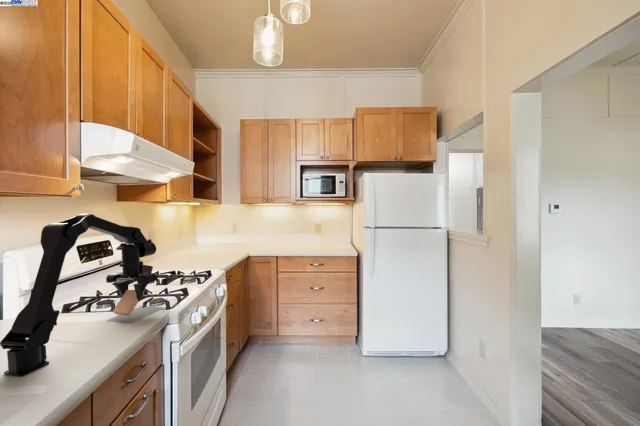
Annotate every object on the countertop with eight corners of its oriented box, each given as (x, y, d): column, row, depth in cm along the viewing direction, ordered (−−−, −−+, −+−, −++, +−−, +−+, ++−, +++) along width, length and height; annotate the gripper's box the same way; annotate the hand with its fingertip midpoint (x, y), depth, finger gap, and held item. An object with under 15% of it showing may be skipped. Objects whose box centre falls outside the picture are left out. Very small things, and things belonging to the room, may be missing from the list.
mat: (132, 324, 105) (132, 323, 105) (105, 322, 108) (105, 320, 108) (165, 308, 121) (165, 307, 121) (141, 306, 123) (141, 305, 123)
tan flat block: (125, 312, 106) (139, 290, 112) (112, 311, 107) (126, 289, 113) (130, 315, 108) (143, 293, 114) (116, 314, 109) (130, 292, 115)
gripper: (167, 256, 118) (168, 294, 118) (129, 255, 122) (131, 292, 122) (144, 261, 107) (146, 303, 107) (104, 261, 111) (106, 301, 112)
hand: (133, 299), depth 113 cm, fingers closed on tan flat block, 6 cm apart
